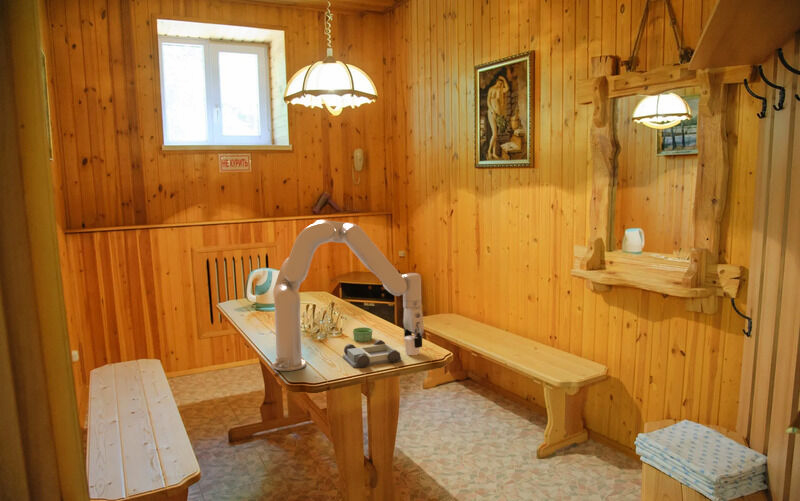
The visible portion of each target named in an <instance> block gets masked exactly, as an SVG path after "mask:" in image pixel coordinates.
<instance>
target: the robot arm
mask: <svg viewBox="0 0 800 501" xmlns="http://www.w3.org/2000/svg"><path fill="white" fill-rule="evenodd" d="M330 242H331V243H341V244H346V245H347V247H348V248H349V249H350V251H352V253H354V255H355V257H357V258H358V260H359V261H360V262H361V263H362V264H363V265H364V267H366V269H367V270H369V272H371V273H372V274H374V275H375V276H376V277H377V279H379V281H380V282H381V283H382V286H383V288H384V290H385V291H387V292H388V293H389V294H391V295H393V296H395V297H400V296H402V307H403V319H402V324H403V333H404V334H403V336H404V337H405V336H408V335H415V338H414V343H415V348H419V347H420V348H422V347H423V336H424V329H425V328H424V317H423V316H424V315H423V310H422V306H423V304H422V276H421V274H419V273H417V272H408V273H400V272H399V271H398V270H397V269H396V267H395V266H394V265H393V264H392V263H391V262H390V261H389V259H388V258H387V257H386V256H385V255H384V253H383V252H382V251H381V249H379V247H378V246H377V244H375V243H374V242H373V240H372V239H371V237H369V235H368V234H367V233H366V232H365V230H364V229H363V228H362V227H360V225H358V224H356V223H353V222H345V221H338V220H337V221H334V220H327V219H318V220H316V221H314V222H313V223H312V224H310V225H308V226H307V227H304V229H302V230H301V232H299V234H298V235H297V237H296V238H295V241H294V243H293V245H292V248H291V251H290V254H289V256H288V257H287V258H286V259H284V261H283V262H282V265H281V267H280V269H279V272H278V275H277V278H276V281H275V285H274V286H273V287H274V288H273V291H272V297H273V302H274V303H273V304H274V328H275V345H276V346H275V348H276V356H275V361H273V362H272V363H270V367H271V369H274V370H277V371H283V372H292V371H296V370H300V369H303V368H304V367H306V366H307V361H306V360H305V359H303V358H302V333H301V332H302V329H301V327H302V326H301V296H300V293H299V290H300V287H301V284H302V282H304V281H305V279H306V278H307V276H308V273H309V271H310V267H311V264H312V261H313V258H314V255H315V253H316V250H317V249H318V248H319V247H320V246H321V245H322V244H327V243H330ZM404 337H403V338H404Z"/></svg>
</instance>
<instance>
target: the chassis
mask: <svg viewBox="0 0 800 501" xmlns="http://www.w3.org/2000/svg"><path fill="white" fill-rule="evenodd" d="M343 352H344V354H343V355H342V358H343V359H344V360H345V361H346V362H347V363H348V364H349V365H350V366H351V367H352V368H353V369H355V368H361V369H365V368H367V367H368V366H374V365H380V364H386V363H392V364H397V363H398V362H401V361H402V356H401V352H400V351H399V350H398V349H396V348H395V347H393V345H390V344H389V343H386V342H385V341H384V340H382V339H378V340H376V341H375V342H374V343H373V345H368V346H359V347H356V346H355V345H354V344H352V343H348V344H346V345H345V346H344V349H343Z"/></svg>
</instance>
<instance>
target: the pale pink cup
mask: <svg viewBox="0 0 800 501" xmlns="http://www.w3.org/2000/svg"><path fill="white" fill-rule="evenodd" d="M414 338H415V335H414V334H412V335H408V336H405V337H403V340H404V341H403V342H404V350H405V351H404V352H405V355H406V354H407V355H406V356H409V355H416V356H418V355H417V354H419V355H420V348H421V347H419V348H415V343H414Z"/></svg>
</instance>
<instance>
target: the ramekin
mask: <svg viewBox="0 0 800 501" xmlns="http://www.w3.org/2000/svg"><path fill="white" fill-rule="evenodd" d="M352 333H353V340H354V341H355V342H360V343H364V342H369V341H371V340H372V338H373V328H370V327H365V326H364V327H362V326H361V327H356V328H352Z"/></svg>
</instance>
